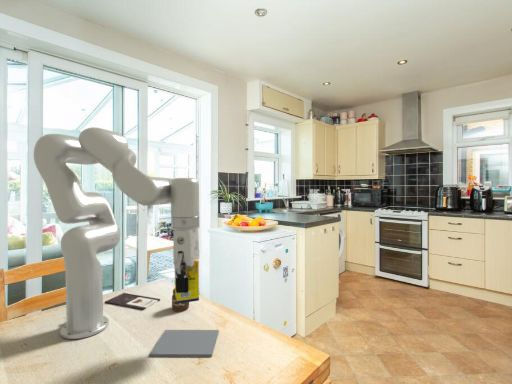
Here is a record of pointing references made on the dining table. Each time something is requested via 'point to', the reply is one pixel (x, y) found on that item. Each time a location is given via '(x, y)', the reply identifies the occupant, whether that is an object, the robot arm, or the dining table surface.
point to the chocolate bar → (132, 301)
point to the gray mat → (186, 343)
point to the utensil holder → (179, 306)
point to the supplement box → (190, 285)
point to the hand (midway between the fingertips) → (186, 286)
